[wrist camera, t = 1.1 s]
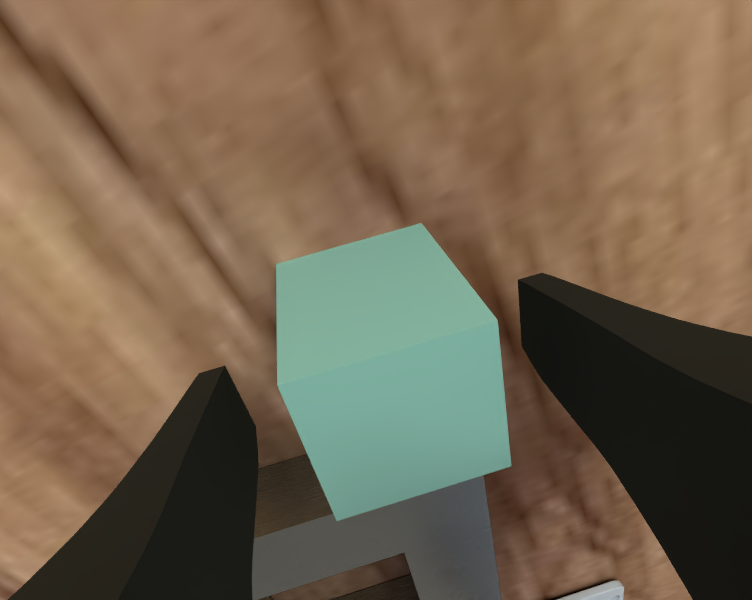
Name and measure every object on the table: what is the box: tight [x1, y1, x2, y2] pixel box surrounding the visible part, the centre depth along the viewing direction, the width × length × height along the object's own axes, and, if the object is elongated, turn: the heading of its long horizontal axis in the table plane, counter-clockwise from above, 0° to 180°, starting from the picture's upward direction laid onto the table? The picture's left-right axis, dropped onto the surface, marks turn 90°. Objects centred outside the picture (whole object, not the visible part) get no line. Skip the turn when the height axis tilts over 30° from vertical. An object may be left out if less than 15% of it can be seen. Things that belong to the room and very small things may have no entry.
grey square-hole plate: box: [252, 454, 501, 600], centre depth 18 cm, size 12×12×2 cm
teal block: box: [276, 223, 511, 521], centre depth 11 cm, size 4×4×5 cm
